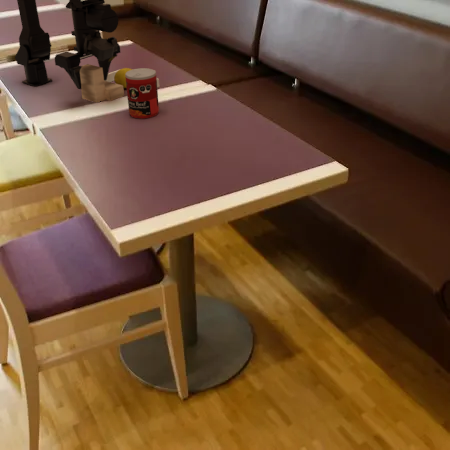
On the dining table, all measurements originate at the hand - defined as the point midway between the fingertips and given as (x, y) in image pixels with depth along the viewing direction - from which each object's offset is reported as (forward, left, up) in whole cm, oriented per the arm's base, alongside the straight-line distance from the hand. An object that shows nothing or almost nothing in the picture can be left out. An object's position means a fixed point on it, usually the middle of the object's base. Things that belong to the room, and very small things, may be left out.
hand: (92, 84), depth 170 cm
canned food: (+20, 0, -4) cm, 20 cm away
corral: (0, +12, -4) cm, 12 cm away
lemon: (0, +8, -1) cm, 8 cm away
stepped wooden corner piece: (0, +2, -4) cm, 5 cm away
